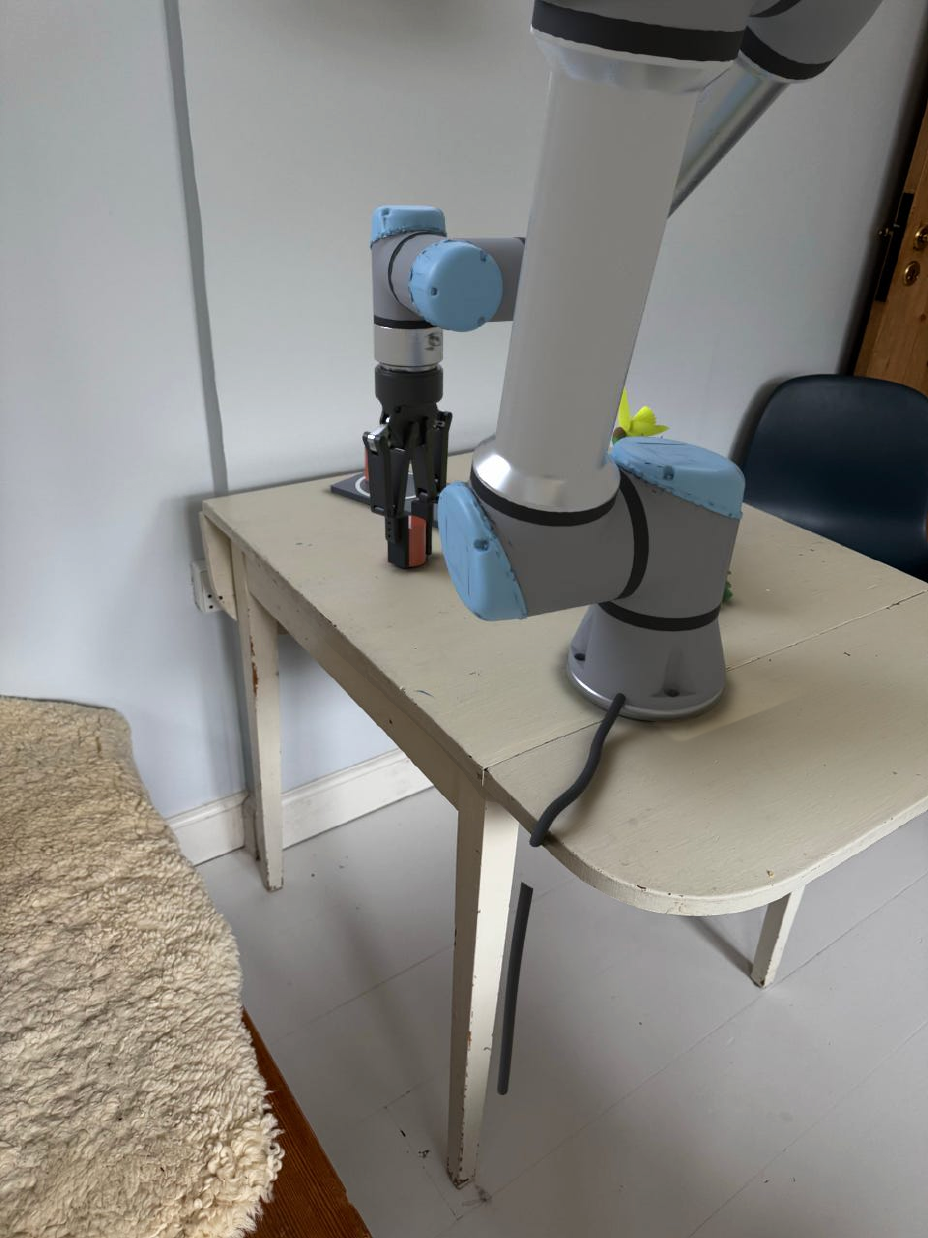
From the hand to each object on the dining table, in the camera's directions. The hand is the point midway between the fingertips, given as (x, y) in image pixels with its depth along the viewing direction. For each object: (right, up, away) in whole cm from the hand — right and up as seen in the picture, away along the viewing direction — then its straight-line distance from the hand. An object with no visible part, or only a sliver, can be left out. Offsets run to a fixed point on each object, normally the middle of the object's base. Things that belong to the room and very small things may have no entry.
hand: (410, 557), depth 103 cm
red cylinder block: (0, 0, 0) cm, 0 cm away
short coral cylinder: (-6, +13, +21) cm, 25 cm away
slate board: (0, +9, +17) cm, 20 cm away
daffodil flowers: (+30, +1, +4) cm, 30 cm away
